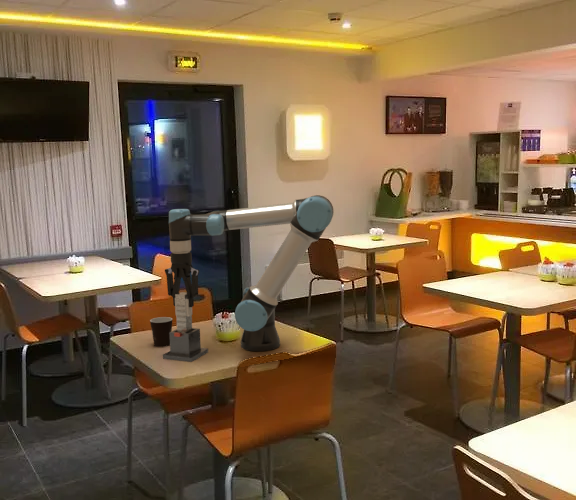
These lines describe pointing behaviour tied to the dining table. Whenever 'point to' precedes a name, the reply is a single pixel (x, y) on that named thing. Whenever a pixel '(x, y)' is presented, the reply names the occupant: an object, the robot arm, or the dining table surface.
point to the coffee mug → (161, 331)
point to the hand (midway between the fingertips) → (184, 315)
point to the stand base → (185, 346)
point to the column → (182, 314)
